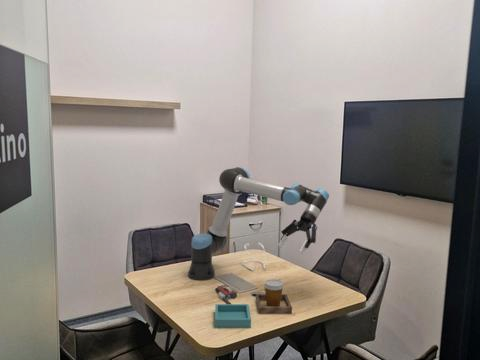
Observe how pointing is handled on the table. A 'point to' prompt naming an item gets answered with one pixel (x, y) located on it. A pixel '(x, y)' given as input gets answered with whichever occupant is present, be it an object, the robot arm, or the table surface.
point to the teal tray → (232, 316)
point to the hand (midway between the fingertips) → (290, 249)
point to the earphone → (254, 260)
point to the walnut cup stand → (273, 309)
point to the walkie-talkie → (226, 293)
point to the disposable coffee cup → (273, 292)
